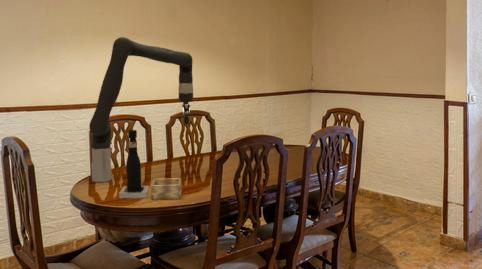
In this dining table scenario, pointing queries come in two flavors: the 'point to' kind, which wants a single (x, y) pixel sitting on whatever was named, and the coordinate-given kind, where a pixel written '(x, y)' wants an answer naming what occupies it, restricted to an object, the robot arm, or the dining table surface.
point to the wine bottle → (133, 165)
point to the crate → (166, 189)
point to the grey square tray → (134, 193)
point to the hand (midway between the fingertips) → (186, 123)
